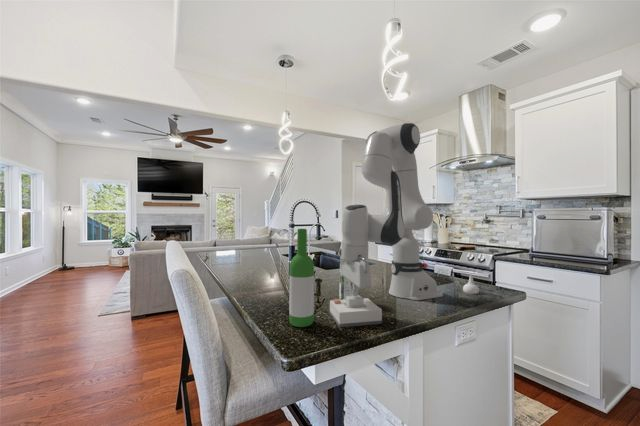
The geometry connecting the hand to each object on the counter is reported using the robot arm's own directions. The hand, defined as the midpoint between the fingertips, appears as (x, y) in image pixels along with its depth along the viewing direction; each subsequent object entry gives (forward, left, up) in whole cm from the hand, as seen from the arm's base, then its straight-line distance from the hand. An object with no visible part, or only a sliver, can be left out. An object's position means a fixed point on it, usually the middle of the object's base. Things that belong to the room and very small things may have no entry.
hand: (354, 294), depth 95 cm
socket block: (0, 0, -8) cm, 8 cm away
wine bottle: (+18, +1, -8) cm, 20 cm away
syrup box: (-3, -17, -8) cm, 19 cm away
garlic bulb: (-61, -19, -8) cm, 65 cm away
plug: (0, 0, -7) cm, 7 cm away
